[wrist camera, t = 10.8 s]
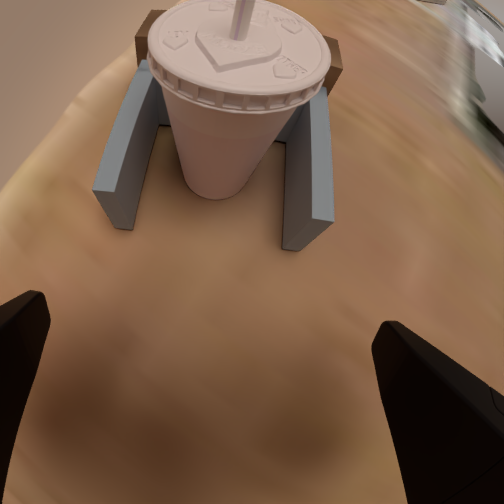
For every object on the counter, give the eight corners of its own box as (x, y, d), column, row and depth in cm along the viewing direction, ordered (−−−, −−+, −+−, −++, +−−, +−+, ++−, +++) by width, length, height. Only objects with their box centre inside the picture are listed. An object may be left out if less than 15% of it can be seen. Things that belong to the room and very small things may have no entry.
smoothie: (141, 201, 16) (90, -61, 3) (185, 116, 18) (205, -99, 5) (252, 238, 17) (396, -2, 4) (281, 147, 19) (381, -54, 6)
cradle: (300, 251, 17) (334, 221, 13) (114, 227, 16) (92, 189, 11) (301, 133, 19) (326, 87, 15) (147, 111, 18) (141, 59, 14)
